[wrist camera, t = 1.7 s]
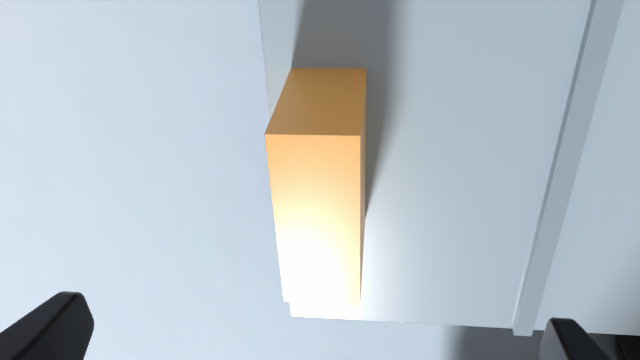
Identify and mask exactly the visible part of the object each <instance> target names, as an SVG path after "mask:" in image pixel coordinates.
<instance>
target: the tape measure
mask: <svg viewBox="0 0 640 360" xmlns="http://www.w3.org/2000/svg"><path fill="white" fill-rule="evenodd" d="M615 352H616V356H617V360H640V336H637V335H619V334H617V336H616V339H615Z"/></svg>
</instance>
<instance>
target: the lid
mask: <svg viewBox="0 0 640 360" xmlns="http://www.w3.org/2000/svg"><path fill="white" fill-rule="evenodd" d="M258 6H259V15H260V25H261V34H262V44H263V53H264V62H265V72H266V81H267V91H268V100H269V110H270V122H269V124H268V127H267V130H266V132H265V142H266V151H267V160H268V168H269V177H270V186H271V194H272V203H273V212H274V220H275V229H276V238H277V246H278V255H279V264H280V273H281V281H282V290H283V299H284V301H288V302H290V308H291V316H296V317H314V318H332V319H350V320H368V321H386V322H404V323H422V324H440V325H458V326H475V327H493V328H511V329H512V330H513V334H514V335H516V336H532V333H533V330H545V327H546V324H547V321H548V320H549V319H550V318H552V317H556V318H571V319H573V320H575V321H576V322H577V323H578V324H579V325H580V326H581V327H582V328H583V329H584V330H585V331H586V332H587V333H601V334H619V335H637V336H640V0H258Z"/></svg>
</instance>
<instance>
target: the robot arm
mask: <svg viewBox="0 0 640 360" xmlns="http://www.w3.org/2000/svg"><path fill="white" fill-rule="evenodd" d="M93 329H94V319H93V317H92V314H91V312H90V309H89V307H88V305H87V302H86V300H85V297H84V296H83V295H82V294H81V293H79V292H66V291H63V292H59V293H57V294H56V295H54V296H53V297H51V298H50V299H49V300H47V301H46V302H44V303H43V304H41V305H40V306H38V307H37V308H36V309H34V310H33V311H31V312H30V313H28V314H27V315H25V316H24V317H23V318H21V319H20V320H18V321H17V322H15V323H14V324H12V325H11V326H10V327H8V328H7V329H5V330H4V331H2V332H1V333H0V360H83V359H84V356H85V353H86V351H87V348H88V345H89V342H90V339H91V336H92V333H93ZM539 357H540V360H613V359H612V358H611V357H610V356H609V355H608V354H607V353H606V352H605V351H604V350H603V349H602V348H601V347H600V346H599V345H598V344H597V342H596V341H595V340H594V339H593V338H592V337H591V336H590V335H589V334H588V333H587V332H586V331H585V330H584V329H583V328H582V327H581V326H580V325H579V324H578V323H577V322H576V321H575V320H573V319H571V318H556V317H552V318H550V319H549V320H548V321H547V324H546V327H545V330H544V334H543V337H542V341H541V344H540V349H539Z"/></svg>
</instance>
